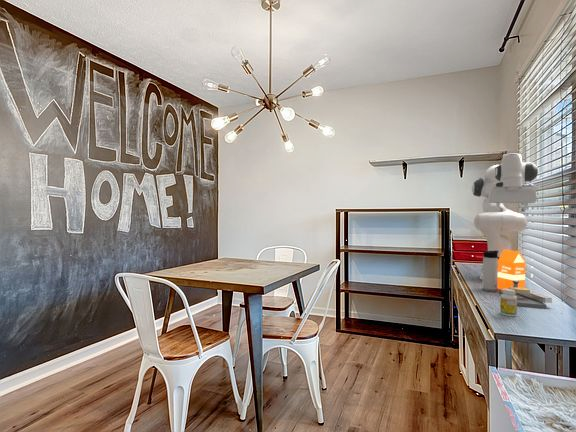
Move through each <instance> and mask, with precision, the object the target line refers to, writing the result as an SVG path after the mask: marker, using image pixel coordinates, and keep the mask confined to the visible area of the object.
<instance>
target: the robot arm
mask: <svg viewBox="0 0 576 432" xmlns="http://www.w3.org/2000/svg"><path fill="white" fill-rule="evenodd" d="M501 159H502V160H501V163H500V164H496V165H495V164H494V165H491V166H490V167H488V168H487V169H486V170H485V173H484V177H483V178H482V177H479V179H477V180H475V181H474V182H473V184H472V186H471V192H472V194H473V196H475V197H479V198H480V197H483V198H484V199H483V202H482V210H483V212H480V213H479V212H478V214H476V215H475V217H474V220H473V224H474V225H473V226H474V227H475V228H476V229H477V230H479V232H480V233H482V234H483V236H484V237H485V239H486V241H487V251H499V252H498V260H499V258H500V256H501V254H502V253H503V251H504V250H512V243H511V241H510V240H508V239H506V238H505V237H502V236H500V233H501V232H503V233H504V232H505V233H510V232H511V233H516V232H522V231H524V230H525V229H526V228H527V226H528V219H527V218H528V217H526V216H525V214H523V213H526V209H527V208H528V206H529V204H535V203H536V202H537V199H538V198H537V197H538V196H537V191H538V190H537V189H538V187H537V186H536V185H534V184H523V182H528V183H531V182H532V181H535V179H536V178H537V177H538V173H539V170H538V169H539V167H538V166H537V165H536V164H535V163H534V162H532V161H530V162H523V159H522V155H521V153H518V152H516V153H515V152H514V153H513V152H512V153H505V154H502V158H501ZM504 204H523V208H520V212H516V211H513V210H511V209H509V208H507V207H506V206H505V205H504ZM499 232H500V233H499ZM481 272H483V266H482V267H481ZM479 280H482V281H483V273H481V274H480V275H479ZM497 283H498V268H497Z"/></svg>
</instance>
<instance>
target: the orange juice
mask: <svg viewBox="0 0 576 432" xmlns="http://www.w3.org/2000/svg"><path fill="white" fill-rule="evenodd" d="M512 280H517V281H519V283H518V287H520V288H526V287H525V286H526V261H525V259H524V257H523V255H522V253H521V251H517V250H512V249H511V250H504V251H503V253H502V254H501V256H500V258H499V260H498V282H497V290H503V289H509V287H511V286H513V282H512Z"/></svg>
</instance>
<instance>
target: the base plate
mask: <svg viewBox="0 0 576 432" xmlns="http://www.w3.org/2000/svg"><path fill="white" fill-rule="evenodd" d="M499 294H500V295H502V294H504V293H503V290H502V289H499ZM516 297H517V307H524V308H525V307H527V308H533V309H534V308H535V309H536V308H537V309H545V310H547V303H544V302H541V301H538V300H535V299H532V298H529V297H526V296H523V295H521V294H518V293H516Z"/></svg>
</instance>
